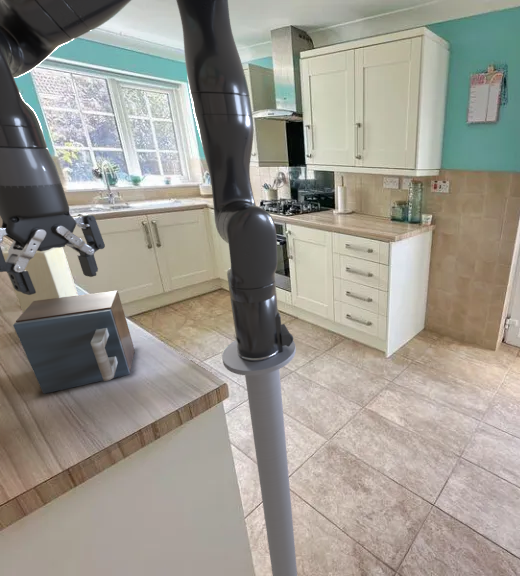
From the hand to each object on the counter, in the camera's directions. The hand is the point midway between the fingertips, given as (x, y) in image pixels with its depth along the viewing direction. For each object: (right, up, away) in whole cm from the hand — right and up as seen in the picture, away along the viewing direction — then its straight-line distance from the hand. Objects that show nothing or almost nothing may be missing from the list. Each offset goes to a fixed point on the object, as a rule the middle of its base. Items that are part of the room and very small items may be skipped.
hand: (62, 283), depth 54 cm
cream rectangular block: (-27, -11, +28) cm, 40 cm away
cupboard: (-8, -18, +15) cm, 24 cm away
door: (-4, -20, +8) cm, 22 cm away
